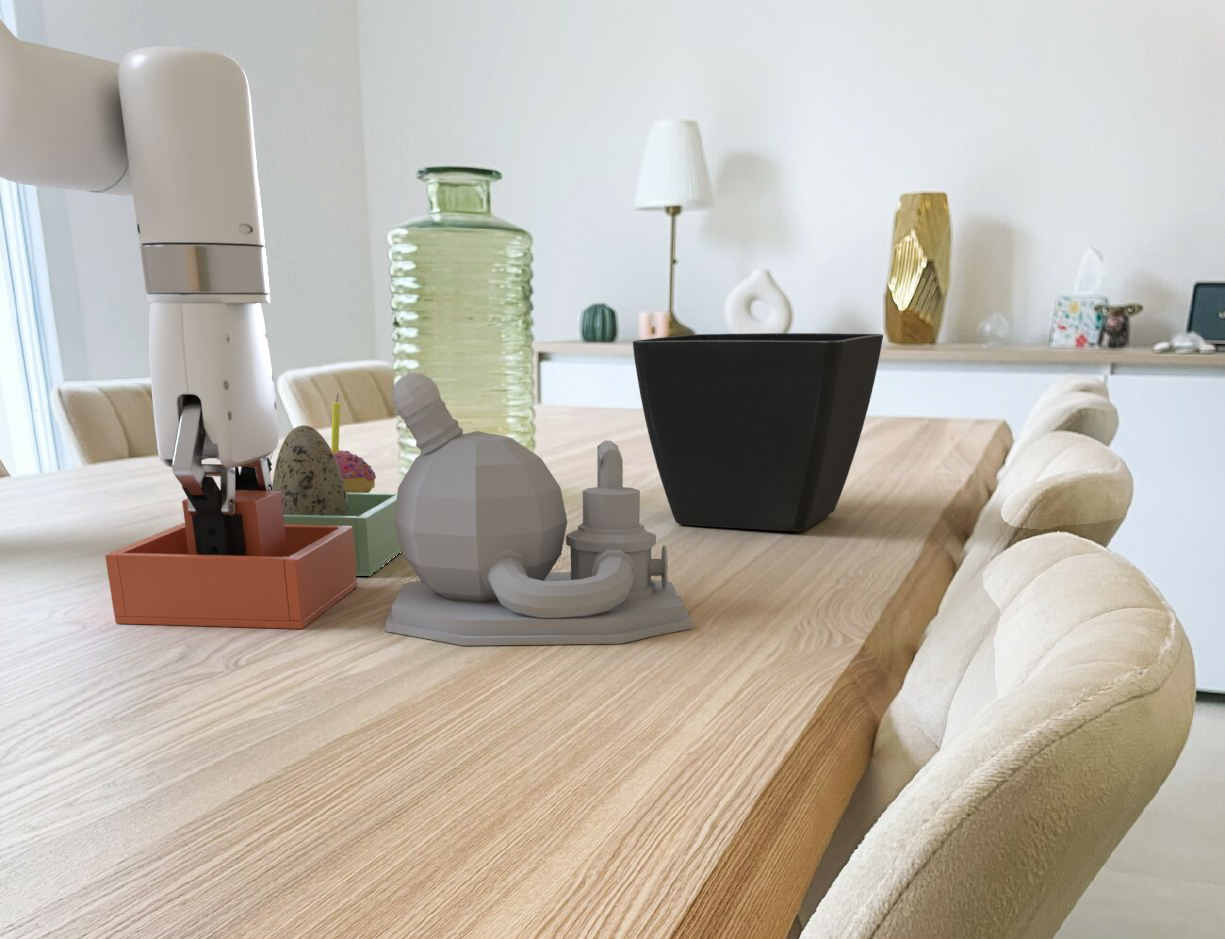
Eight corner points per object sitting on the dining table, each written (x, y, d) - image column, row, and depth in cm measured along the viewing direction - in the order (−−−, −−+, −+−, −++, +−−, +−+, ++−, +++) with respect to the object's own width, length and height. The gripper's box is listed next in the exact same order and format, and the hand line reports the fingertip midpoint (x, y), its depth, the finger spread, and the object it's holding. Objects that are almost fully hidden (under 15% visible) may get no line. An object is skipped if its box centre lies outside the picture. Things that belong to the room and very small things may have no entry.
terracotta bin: (115, 623, 80) (104, 554, 78) (193, 582, 92) (185, 522, 90) (302, 629, 79) (295, 559, 77) (357, 587, 91) (352, 525, 89)
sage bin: (211, 573, 95) (203, 514, 93) (268, 543, 106) (262, 490, 105) (370, 577, 94) (365, 518, 92) (410, 546, 105) (406, 493, 104)
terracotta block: (191, 576, 82) (181, 500, 80) (220, 561, 87) (211, 489, 85) (263, 577, 82) (255, 501, 80) (288, 563, 87) (281, 490, 85)
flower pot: (626, 528, 114) (628, 335, 108) (693, 500, 131) (698, 330, 124) (825, 544, 108) (840, 339, 101) (870, 512, 124) (885, 333, 117)
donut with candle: (397, 526, 115) (389, 391, 110) (335, 540, 108) (323, 397, 103) (328, 518, 119) (317, 387, 114) (264, 531, 112) (249, 393, 107)
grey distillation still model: (376, 646, 75) (357, 380, 69) (402, 591, 89) (388, 367, 83) (699, 643, 76) (708, 382, 70) (674, 589, 91) (680, 368, 84)
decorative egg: (324, 543, 104) (314, 420, 100) (366, 553, 100) (357, 425, 96) (262, 552, 100) (249, 425, 96) (303, 563, 96) (291, 430, 92)
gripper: (203, 280, 85) (233, 542, 93) (84, 276, 70) (132, 592, 77) (307, 281, 85) (330, 544, 92) (211, 276, 69) (247, 595, 76)
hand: (239, 563), depth 84 cm, fingers closed on terracotta block, 5 cm apart
